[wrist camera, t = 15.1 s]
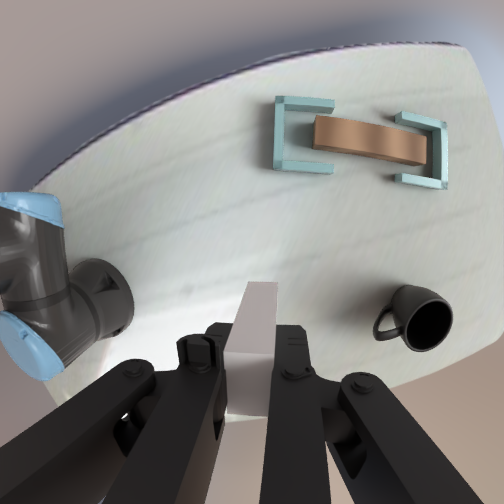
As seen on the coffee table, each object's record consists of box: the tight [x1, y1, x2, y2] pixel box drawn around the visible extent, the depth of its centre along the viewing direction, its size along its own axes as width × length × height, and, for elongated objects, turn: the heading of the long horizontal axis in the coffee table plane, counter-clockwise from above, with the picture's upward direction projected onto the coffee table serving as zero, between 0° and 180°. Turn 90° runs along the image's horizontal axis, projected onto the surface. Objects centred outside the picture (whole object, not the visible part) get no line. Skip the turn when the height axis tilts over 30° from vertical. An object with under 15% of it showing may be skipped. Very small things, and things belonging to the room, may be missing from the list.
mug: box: [373, 285, 453, 352], centre depth 35 cm, size 8×12×10 cm
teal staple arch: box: [273, 96, 335, 174], centre depth 35 cm, size 8×10×3 cm
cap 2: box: [395, 111, 448, 190], centre depth 33 cm, size 8×10×3 cm
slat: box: [312, 115, 426, 166], centre depth 34 cm, size 16×4×4 cm, turn 86°
